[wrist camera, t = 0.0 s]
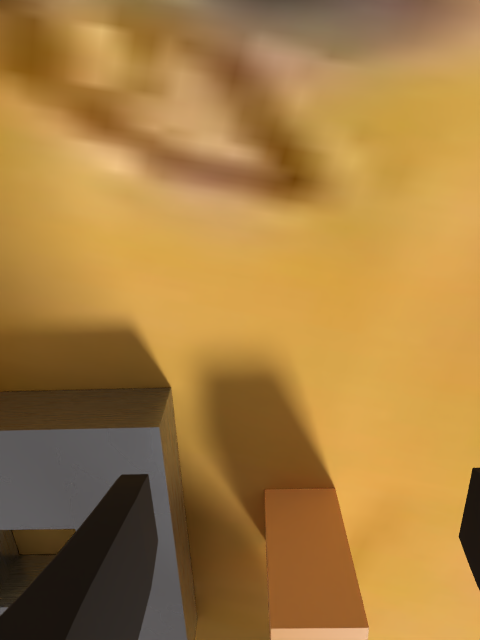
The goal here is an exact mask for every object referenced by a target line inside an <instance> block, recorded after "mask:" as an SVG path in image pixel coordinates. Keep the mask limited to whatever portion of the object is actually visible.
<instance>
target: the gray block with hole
mask: <svg viewBox="0 0 480 640" xmlns="http://www.w3.org/2000/svg"><path fill="white" fill-rule="evenodd" d="M122 474H148V475H149V481H150V488H151V495H152V501H153V508H154V515H155V521H156V528H157V535H158V547H157V554H156V561H155V568H154V574H153V580H152V587H151V591H150V595H149V599H148V603H147V607H146V611H145V615H144V619H143V623H142V627H141V631H140V635H139V638H138V640H195V636H196V626H197V610H196V601H195V592H194V584H193V575H192V566H191V557H190V549H189V540H188V531H187V522H186V514H185V505H184V496H183V487H182V479H181V470H180V461H179V452H178V443H177V435H176V426H175V417H174V408H173V400H172V391H171V388H139V389H99V390H58V391H17V392H0V615H1V614H2V613H3V612H4V611H5V610H6V609H7V608H8V607H9V606H10V605H11V604H12V603H13V602H14V601H15V600H16V599H17V598H18V597H19V596H20V595H21V594H22V593H23V591H24V590H25V589H26V588H27V587H28V586H29V585H30V584H31V583H32V582H33V580H34V579H35V578H36V577H37V576H38V575H39V574H40V573H41V572H42V571H43V569H44V568H45V567H46V566H47V565H48V564H49V563H50V562H51V561H52V559H53V558H54V557H55V556H56V555H19V553H18V550H17V546H16V543H15V540H14V537H13V534H12V531H11V530H28V529H75V530H76V531H77V530H78V528H79V527H80V526H81V525H82V524H83V522H84V521H85V520H86V519H87V517H88V516H89V515H90V513H91V512H92V511H93V510H94V508H95V507H96V506H97V505H98V503H99V502H100V501H101V499H102V498H103V497H104V496H105V494H106V493H107V492H108V490H109V489H110V488H111V486H112V485H113V484H114V482H115V481H116V480H117V479H118V478H119V477H120V476H121V475H122Z"/></svg>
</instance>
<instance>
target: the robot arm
mask: <svg viewBox="0 0 480 640" xmlns="http://www.w3.org/2000/svg"><path fill="white" fill-rule="evenodd" d="M459 538H460V541H461V544H462V547H463V549H464V552H465V555H466V558H467V560H468V563H469V566H470V568H471V571H472V573H473V576H474V578H475V581H476V583H477V586H478V588H479V590H480V468H473V469H472V474H471V479H470V484H469V489H468V494H467V499H466V504H465V508H464V513H463V518H462V523H461V528H460V533H459ZM157 547H158V535H157V528H156V521H155V515H154V508H153V501H152V495H151V488H150V481H149V475H148V474H122V475H121V476H120V477H119V478H118V479H117V480H116V481H115V482H114V484H113V485H112V486H111V488H110V489H109V490H108V492H107V493H106V494H105V496H104V497H103V498H102V499H101V501H100V502H99V503H98V505H97V506H96V507H95V508H94V510H93V511H92V512H91V513H90V515H89V516H88V517H87V519H86V520H85V521H84V522H83V524H82V525H81V526H80V527H79V528H78V530H77V531H76V532H75V533H74V534H73V536H72V537H71V538H70V539H69V540H68V542H67V543H66V544H65V545H64V546H63V548H62V549H61V550H60V551H59V552H58V554H57V555H56V556H55V557H54V558H53V559H52V561H51V562H50V563H49V564H48V565H47V566H46V567H45V568H44V569H43V571H42V572H41V573H40V574H39V575H38V576H37V577H36V578H35V579H34V580H33V582H32V583H31V584H30V585H29V586H28V587H27V588H26V589H25V590H24V591H23V593H22V594H21V595H20V596H19V597H18V598H17V599H16V600H15V601H14V602H13V603H12V604H11V605H10V606H9V607H8V608H7V609H6V610H5V611H4V612H3V613H2V614H1V615H0V640H138V638H139V635H140V631H141V627H142V623H143V619H144V615H145V611H146V607H147V603H148V599H149V595H150V591H151V587H152V580H153V574H154V568H155V561H156V554H157Z"/></svg>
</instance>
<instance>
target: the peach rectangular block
mask: <svg viewBox="0 0 480 640" xmlns="http://www.w3.org/2000/svg"><path fill="white" fill-rule="evenodd" d="M265 532H266V559H267V583H268V607H269V630H270V640H368V632H369V626H368V622H367V618H366V614H365V610H364V606H363V601H362V597H361V593H360V589H359V585H358V581H357V577H356V572H355V568H354V564H353V560H352V556H351V552H350V548H349V544H348V539H347V535H346V531H345V527H344V523H343V519H342V515H341V511H340V506H339V502H338V498H337V494H336V490H335V488H316V489H265Z"/></svg>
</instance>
